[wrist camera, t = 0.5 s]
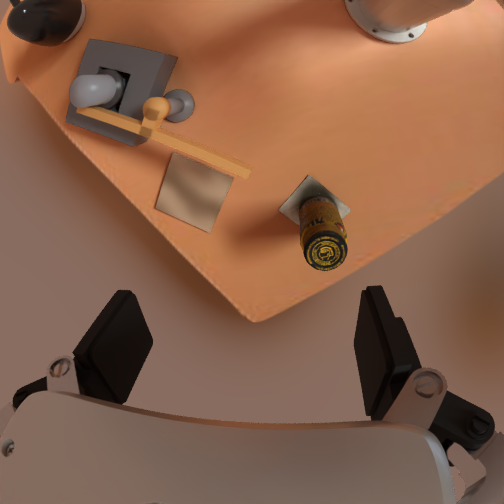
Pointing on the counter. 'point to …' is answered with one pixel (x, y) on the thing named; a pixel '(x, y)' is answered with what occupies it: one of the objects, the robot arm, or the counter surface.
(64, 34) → the pump dispenser
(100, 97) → the plug
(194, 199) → the pad
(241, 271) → the counter surface
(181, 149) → the knobbed wooden stick
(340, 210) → the condiment
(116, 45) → the socket block
